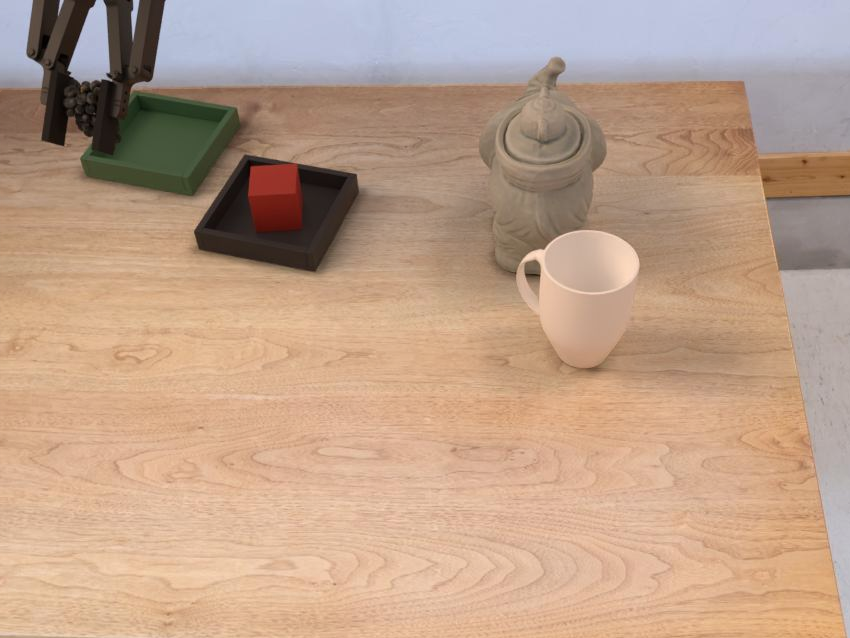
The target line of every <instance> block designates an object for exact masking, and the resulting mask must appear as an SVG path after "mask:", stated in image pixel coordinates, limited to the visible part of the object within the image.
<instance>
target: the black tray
mask: <svg viewBox="0 0 850 638" xmlns="http://www.w3.org/2000/svg"><path fill="white" fill-rule="evenodd" d="M284 164H297V167H298V173H299V179H300V185H301V191H302V198H303V210H302V229H301V230H286V231H268V232H256V231H255V226H254V221H253V216H252V212H251V207H250V202H249V197H248V193H249V181H250V170H251V166H265V165H284ZM359 193H360V191H359V182H358V174H357V173H355V172H349V171H343V170H337V169H331V168H325V167H319V166H315V165H309V164H302V163H297V162H292V161H285V160H280V159H274V158H268V157H262V156H257V155H250V154H243V156H242V157H241V159H240V160H239V162H238V164H236V166H235V167H234V170H233V171H232V172H231V174H230V176H228V179H227V180H226V182H225V183H224V185H223V186H222V187H221V189H220V191H219V192H218V194H217V195H216V197H215V198H214V200H213V201H212V202H211V204H210V206H209V208H208V209H207V210H206V212H205V213H204V215H203V216H202V218H201V220H200V221H199V222H198V223H197V226H196V227H195V229H194V230H193V233H194V237H195V241H196V244H197V248H198V250H201V251H206V252H211V253H216V254H221V255H226V256H231V257H236V258H241V259H245V260H246V259H247V260H251V261H257V262H262V263H267V264H273V265H276V266H282V267H287V268H293V269H298V270H304V271H308V272H313V273H316V272H317V271H318V268H319V266H320V264H321V263H322V261H323V259H324V257H325V255H326V254H327V252H328V250H329V248H330V246H331V244H332V242H333V241H334V239H335V237H336V235H337V234H338V231H339V230H340V228H341V226H342V224H343V223H344V220H345V219H346V217H347V215H348V213H349V211H350V209H351V208H352V206H353V204H354V202H355V200H356V199H357V197H358V195H359Z"/></svg>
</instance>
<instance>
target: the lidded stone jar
mask: <svg viewBox="0 0 850 638" xmlns="http://www.w3.org/2000/svg"><path fill="white" fill-rule="evenodd" d="M565 71H566V62H565V60H564V59H562V58H561V57H559V56H553V57H550V59H549V60H548V63H547V64H546V65H545V66H544V67H543V68H542V69H540V70H538V71H537V72H536V73H535V74H534V75H533V76H531V78H530V79H529V80H528V82H527V84H526V87H525V90H524V94H523V96H520V97H518V98H516V99H514V100H512V101H510V102H509V103H508V104H507V105H505V106H504V107H502V108H500V109H499V110H498V111H496V112H495V113H494V114H493V115H492V116H491V117H490V119H489V120H488V121H487V122H486V123H485V125H484V127H483V128H482V130H481V133H480V136H479V139H478V150H479V151H478V152H479V155H480V158H481V160H482V162H483V164H485V165H486V166H487V167H488V168H489V170H490V174H489V183H488V195H489V202H490V204H491V209H492V211H493V212H492V213H493V215H494V219H493V222H492V235H493V238H494V241H495V246H494V247H495V248H494V257H495V261H496V263H497V265H498V266H499V267H501V268H502V269H504V270H505V271H509V272H511V273H516V274H517V270H518V267H519V265H520V263H521V261H522V260H523V259H524V257H525V256H526V255H527V254H529V253H530V252H532V251H535V250H539V249H541V250H545V248H546V247H547V245H548V244H549V243H550V242H551V241H553V240H554V239H556V238H557V237H559V236H561V235H564V234H566V233H570V232H574V231H581V230H589V220H588V214H589V210H590V208H591V204H592V202H593V195H594V175H593V173H594V172H595V171H597V169H599V168H600V167H601V166H602V165H603V163H604V161H605V159H606V157H607V149H608V148H607V141H606V138H605V134H604V131H603V130H602V127H601V125H600V124H599V122H598V121H597V120H595V119H594V118H593V117H592V116H590V115H589V114H587V113H586V112H584V111H582V110H581V109H580V108H579V107H578V106H577V105H576V104H575V102H574V101H573V99H571V98H570V97H569V96H568V95H566V94H565V93H563V92H560V91H558V87H557V80H558V77H559V76H560V75H561V74H562V73H564V72H565ZM524 272H525V275H526V274H527V275H528V274H529V275H539V276H541V266H540V263H539V262H538V261H537V260H532V261H529V262H526V263H525V265H524Z"/></svg>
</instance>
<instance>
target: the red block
mask: <svg viewBox="0 0 850 638" xmlns="http://www.w3.org/2000/svg"><path fill="white" fill-rule="evenodd" d="M248 197H249V202H250V207H251V212H252V216H253V221H254V226H255V231H256V232H268V231H286V230H301V229H302V210H303V198H302V191H301V185H300V179H299V173H298V167H297V164H284V165H265V166H251V170H250V181H249V193H248Z"/></svg>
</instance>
